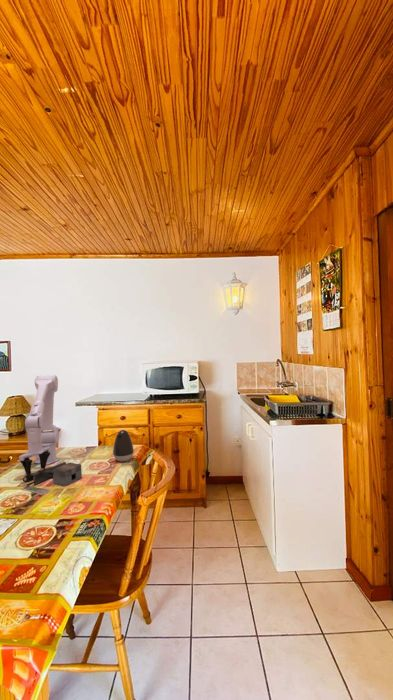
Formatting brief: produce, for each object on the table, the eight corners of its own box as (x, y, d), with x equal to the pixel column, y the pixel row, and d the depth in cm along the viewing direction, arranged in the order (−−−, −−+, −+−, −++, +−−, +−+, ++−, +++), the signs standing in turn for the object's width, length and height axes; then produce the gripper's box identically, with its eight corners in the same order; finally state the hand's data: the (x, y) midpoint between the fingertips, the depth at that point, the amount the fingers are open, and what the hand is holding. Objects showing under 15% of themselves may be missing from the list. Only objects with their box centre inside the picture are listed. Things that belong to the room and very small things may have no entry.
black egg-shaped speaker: (109, 462, 158) (108, 432, 158) (120, 456, 168) (119, 427, 168) (127, 464, 155) (126, 433, 155) (137, 457, 165) (136, 428, 165)
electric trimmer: (60, 472, 149) (60, 465, 149) (26, 483, 137) (26, 476, 137) (56, 470, 151) (55, 464, 151) (22, 481, 139) (22, 474, 139)
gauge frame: (21, 489, 130) (20, 475, 130) (57, 473, 146) (56, 460, 146) (47, 495, 123) (46, 480, 123) (81, 478, 140) (81, 464, 140)
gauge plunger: (26, 487, 131) (25, 477, 131) (64, 470, 149) (64, 461, 149) (47, 491, 126) (47, 481, 126) (84, 473, 144) (84, 464, 144)
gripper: (26, 447, 137) (27, 478, 137) (54, 438, 150) (55, 466, 150) (15, 445, 140) (16, 476, 140) (43, 437, 153) (44, 465, 153)
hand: (35, 471), depth 145 cm, fingers open, 7 cm apart
